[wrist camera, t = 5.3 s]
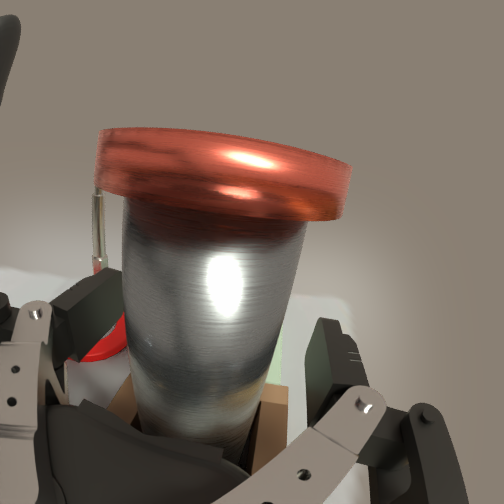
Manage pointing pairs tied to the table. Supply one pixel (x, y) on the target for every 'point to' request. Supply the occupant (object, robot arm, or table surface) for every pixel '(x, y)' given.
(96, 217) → the tow hook
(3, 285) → the table surface
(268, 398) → the brown square frame
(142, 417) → the steel peg
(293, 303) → the table surface
